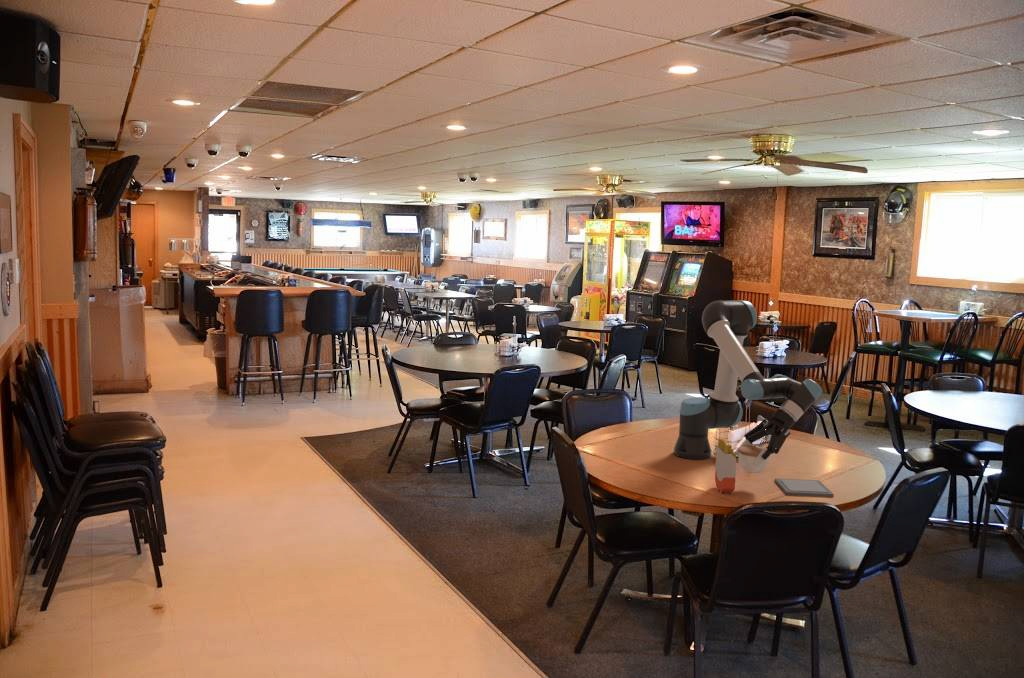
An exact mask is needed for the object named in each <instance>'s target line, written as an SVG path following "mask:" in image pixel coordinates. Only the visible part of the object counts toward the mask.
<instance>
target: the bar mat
mask: <svg viewBox="0 0 1024 678" xmlns="http://www.w3.org/2000/svg"><path fill="white" fill-rule="evenodd" d="M774 482H775V484H776V485H777V486H778V485H779V486H780V487H781V488H780V487H779V486H778V487H779V488H780V490H782V491H783V492H784V493H785V495H786V496H801V497H802V496H808V497H826V498H834V493H833V492H832V491H831V490H830V489H829V488H828V487H827V486H826V485H825V484H823V482H821V480H819V479H800V478H798V479H797V478H796V479H795V478H778V477H777V478H774Z"/></svg>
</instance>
